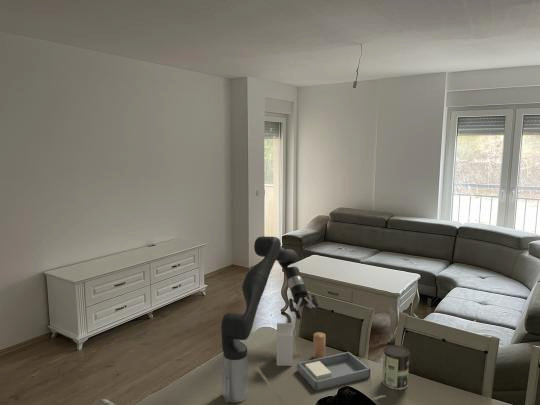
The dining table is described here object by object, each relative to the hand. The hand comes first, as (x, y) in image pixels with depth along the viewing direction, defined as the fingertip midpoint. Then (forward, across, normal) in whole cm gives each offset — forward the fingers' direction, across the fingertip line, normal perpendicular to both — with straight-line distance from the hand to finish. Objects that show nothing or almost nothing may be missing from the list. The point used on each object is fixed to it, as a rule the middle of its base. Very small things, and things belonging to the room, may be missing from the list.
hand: (307, 317), depth 197 cm
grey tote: (+29, -1, -7) cm, 30 cm away
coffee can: (+39, +20, -17) cm, 47 cm away
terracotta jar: (+19, 0, +3) cm, 20 cm away
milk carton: (+17, -16, +5) cm, 24 cm away
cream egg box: (+28, -8, -8) cm, 31 cm away
